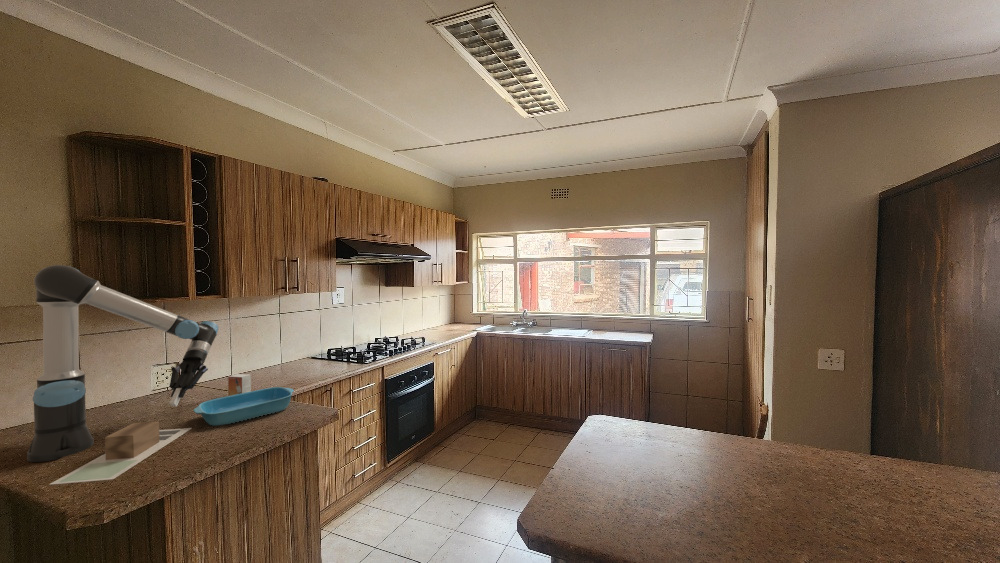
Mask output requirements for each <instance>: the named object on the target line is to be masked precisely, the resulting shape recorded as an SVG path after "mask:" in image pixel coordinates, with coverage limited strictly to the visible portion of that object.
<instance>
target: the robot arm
mask: <svg viewBox="0 0 1000 563" xmlns="http://www.w3.org/2000/svg"><path fill="white" fill-rule="evenodd" d="M33 279H34V280H33V281H34V283H33V284H34V287H35V288H36V289H35V290H36V292H35V293H36V304H38V305H39V306H41V307H42V318H43V319H42V329H43V330H42V331H43V332H42V335H43V337H42V339H43V340H42V341H43V342H42V343H43V344H42V345H43V347H42V348H43V349H42V350H43V352H42V353H43V357H42V358H43V365H42V366H43V373H42V374H40V376H38V377H37V378H36V389H35V390H34V392H33V395H32V402H33V416H34V418H33V421H34V436H33V439H32V441H31V443H30V446H29V449H28V451H27V452H26V458H27V459H26V460H27V462H29V463H42V462H43V463H44V462H49V461H55V460H59V459H62V458H64V457H68V456H72V455H74V454H77V453H80V452H83V451H85V450H88V449H89V448H90V447H93V445H94V442H95V441H94V440H95V438H94V437H93V435H92V434H91V431H90V430H89V427H88V426H87V415H86V414H87V411H86V409H87V408H86V389H87V388H86V374H85V371H83V370H81V369H80V354H79V353H80V351H79V350H80V347H79V345H80V342H79V341H80V336H79V335H80V334H79V333H80V332H79V331H80V330H79V326H80V325H79V324H80V323H79V317H80V315H79V306H80V305H84V304H86V305H89V306H92V307H95V308H97V309H100V310H103V311H106V312H109V313H111V314H113V315H117V316H120V317H123V318H126V319H128V320H131V321H134V322H137V323H140V324H142V325H146V326H148V327H151V328H154V329H155V330H159V331H162V332H164V333H167V334H170V335H173V336H175V337H177V338H179V339H184V340H190V341H191V342H190V343H189V345H188V347H187V349H186V352H185V354H184V356H183V358H182V361H181V362H180V364H179V365H178V366H172V367H170V369H171V377H170V380H169V381H170V382H169V387H170V389H171V390H172V392H171V394H170V397H171V399H170V401H169V403H168V404H169V405H170V406H171V407H173V408H174V407H178V404H179V402H180V400H181V398H184V396H185V393H186V392H187V391H188V390H192V389H194V387H195V386H196V384H197V383H198V382H199V380H200V379H201V378H202V376H203V375H204V374H205V373H206V372H207V371H208V370H209V368H208V367H207V365H204V364H205V362H206V359H207V357H208V355H209V352H210V350H211V348H212V345H213V343H214V341H215V339H216V337H217V335H218V332H219V325H218V324H217V323H216V322H214V321H208V320H203V321H201V322H196V321H194V320H191V319H189V318H186V317H184V316H182V315H180V314H176V313H173V312H171V311H169V310H166V309H163V308H161V307H158V306H157V305H156V306H155V305H152V304H150V303H148V302H145V301H142V300H141V299H138V298H135V297H134V296H133V297H132V296H130V295H128V294H125V293H122V292H120V291H118V290H116V289H112V288H109V287H107V286H105V285H102V284H101V283H100V281H99V280H97V279H94V278H92V277H91V276H88V275H86V274H84V273H83V272H81V271H80V270H79V269H77V268H76V267H74V266H70V265H65V264H54V265H49V266H46V267H44V268H42V269H40V270H39V271H38V272H37V273H36V274H35V276H34V278H33ZM179 373H180V374H179Z"/></svg>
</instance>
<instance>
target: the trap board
mask: <svg viewBox="0 0 1000 563" xmlns="http://www.w3.org/2000/svg"><path fill="white" fill-rule="evenodd" d="M192 429H193V428H192V427H188V428H187V427H185V428H173V429H171V428H170V429H169V428H168V429H159V443H157V444H155V445H154V446H152V447H151V448H149V449H147V450H146V451H144V452H142V453H141V454H139V455H138V456H136V457H134V458H125V459H112V460H106V452H105V453H104V454H102V455H100V456H98V457H96V458H94V459H93V460H91V461H89V462H87V463H85V464H84V465H81V466H80V467H78V468H76V469H74V470H72V471H70V472H69V473H67V474H66V475H63V476H62V477H60V478H58V479H57V480H55V481H52V482H51V483H49V484H48V485H50V486H48V487H51V486H53V485H58V486H63V485H64V484H69V486H73V485H75V484H76V483H81V485H82V484H86V483H87V482H93V484H94V483H96V481H97V482H100V481H104V483H105V482H110V481H111V480H114V479H115V478H117V477H119V476H120V475H123V473H125V472H126V471H129V469H131V468H133V467H135V466H136V465H137V464H139V463H141V462H142V461H143V460H145V459H147V458H148V457H150V456H151V455H152V454H154V453H156V452H158V451H159V450H161V449H162V448H163V447H164V448H165V446H167V445H168V444H170V443H172V442H173V441H174V440H176V439H178V438H179V437H181V436H182V435H184V434H186V433H187V432H189V431H190V430H192ZM72 483H73V484H72ZM62 484H63V485H62Z"/></svg>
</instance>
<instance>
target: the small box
mask: <svg viewBox="0 0 1000 563" xmlns="http://www.w3.org/2000/svg"><path fill="white" fill-rule="evenodd" d="M251 378H252V374H248V373H246V374H245V373H236V374H232V375H229V376H227V379H228V380H227V381H228V384H227V385H228V386H227V387H228V391H227V392H228V395H227V396H231V395H236V394H241V393H246V392H251V391H252V379H251Z"/></svg>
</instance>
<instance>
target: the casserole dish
mask: <svg viewBox="0 0 1000 563" xmlns="http://www.w3.org/2000/svg"><path fill="white" fill-rule="evenodd" d="M293 393H294V389H293V388H290V387H283V386H282V387H281V386H274V387H272V386H271V387H267V388H261V389H256V390H251V392H246V393H241V394H236V395H231V396H228V395H227V396H223V397H217V398H213V399H209V400H205V401H203V402H201V403H199V404H198V406H197V407H195V408H194V409H193V412H194V413H195V414H196V415H201V417H202V418H203V420H204V421H205V422H206V423H207V424H208V425H209V426H212V427H213V426H222V425H223V426H224V425H232V424H231V423H233V424H236V423H235V422H237V423H240V422H239V421H241V422H244V421H243V420H245V421H248V420H247V419H249V420H252V419H251V418H253V419H255V417H257V418H260V417H259V416H261V417H263V415H265V416H268V415H267V414H269V415H272V414H276V413H279V412H282V411H284V410H285V409H286V408H288V407H289V404H290V403H291V399H292V396H293ZM275 412H276V413H275ZM271 413H272V414H271Z"/></svg>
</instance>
